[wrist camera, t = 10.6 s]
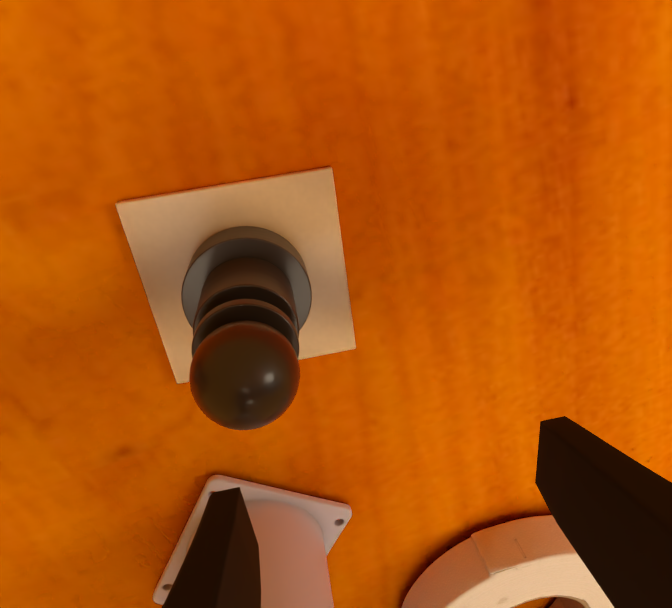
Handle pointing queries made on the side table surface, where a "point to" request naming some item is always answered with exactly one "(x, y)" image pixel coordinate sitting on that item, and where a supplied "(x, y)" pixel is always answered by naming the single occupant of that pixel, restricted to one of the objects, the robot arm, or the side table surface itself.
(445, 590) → the tape roll
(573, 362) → the side table surface
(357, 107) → the side table surface
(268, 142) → the side table surface
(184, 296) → the chess pawn
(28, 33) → the side table surface
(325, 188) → the maple square
